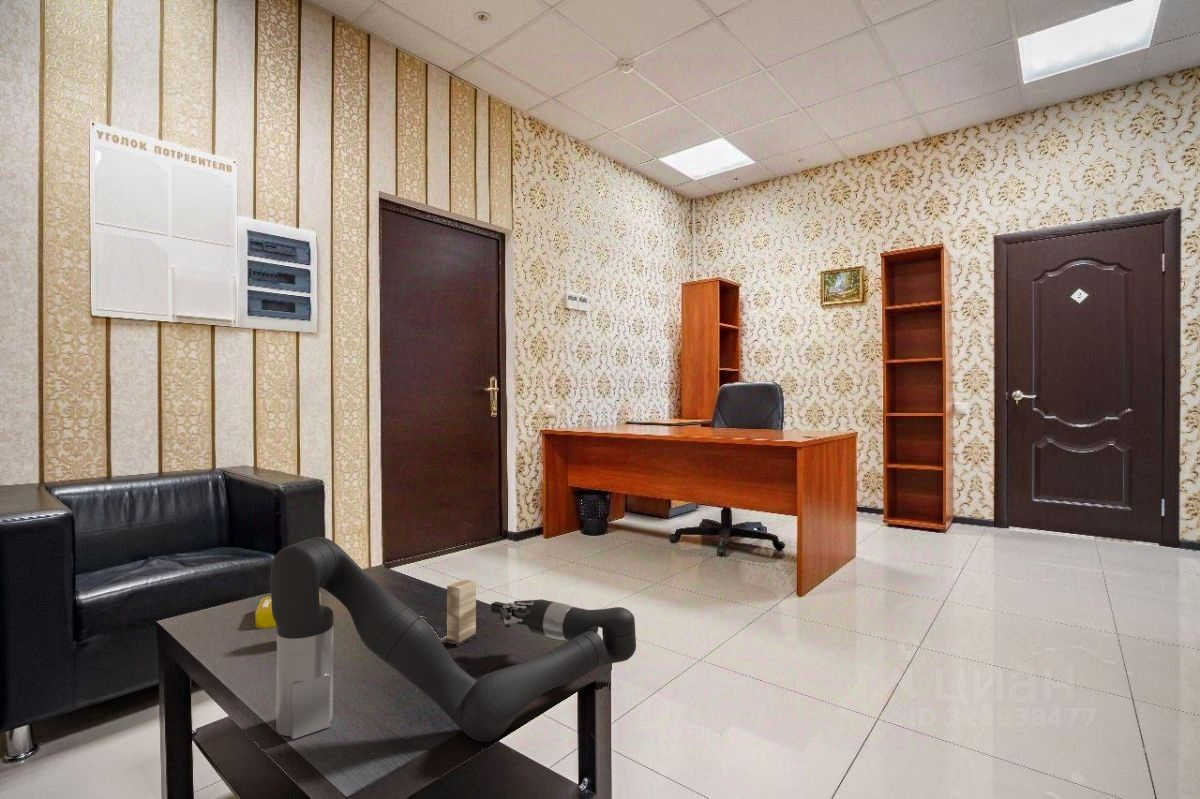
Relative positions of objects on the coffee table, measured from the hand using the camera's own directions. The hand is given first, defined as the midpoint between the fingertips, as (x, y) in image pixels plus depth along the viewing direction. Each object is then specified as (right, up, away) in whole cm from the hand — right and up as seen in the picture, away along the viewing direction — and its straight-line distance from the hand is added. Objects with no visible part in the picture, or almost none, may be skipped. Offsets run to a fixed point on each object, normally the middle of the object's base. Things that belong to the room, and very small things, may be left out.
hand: (492, 606), depth 137 cm
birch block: (-9, -10, +5) cm, 14 cm away
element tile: (-60, -11, +21) cm, 64 cm away
